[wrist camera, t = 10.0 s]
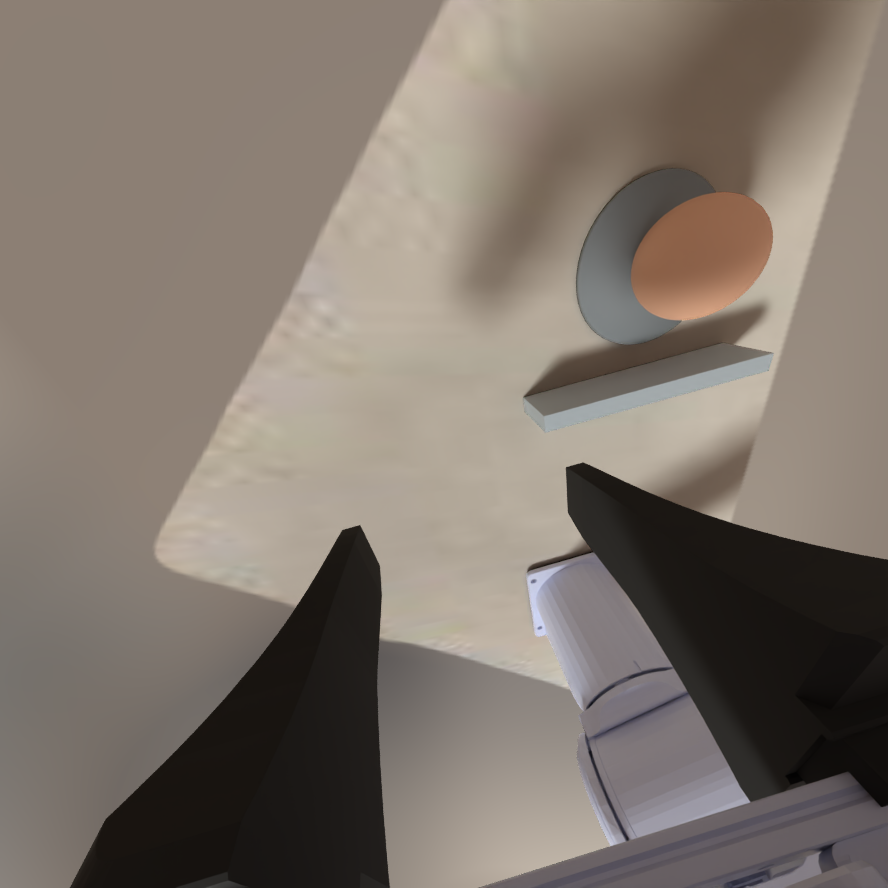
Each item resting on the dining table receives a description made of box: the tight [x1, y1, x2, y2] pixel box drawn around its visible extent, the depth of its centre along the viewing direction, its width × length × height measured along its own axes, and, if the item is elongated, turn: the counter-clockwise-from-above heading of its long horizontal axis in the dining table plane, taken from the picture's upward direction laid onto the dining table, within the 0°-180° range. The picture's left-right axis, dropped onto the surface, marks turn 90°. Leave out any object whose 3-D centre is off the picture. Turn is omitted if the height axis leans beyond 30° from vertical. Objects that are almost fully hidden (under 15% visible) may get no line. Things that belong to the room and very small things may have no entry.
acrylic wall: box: [523, 343, 774, 433], centre depth 19 cm, size 1×13×3 cm, turn 103°
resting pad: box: [576, 168, 716, 344], centre depth 17 cm, size 8×8×1 cm
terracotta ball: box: [631, 192, 773, 320], centre depth 15 cm, size 5×5×5 cm
